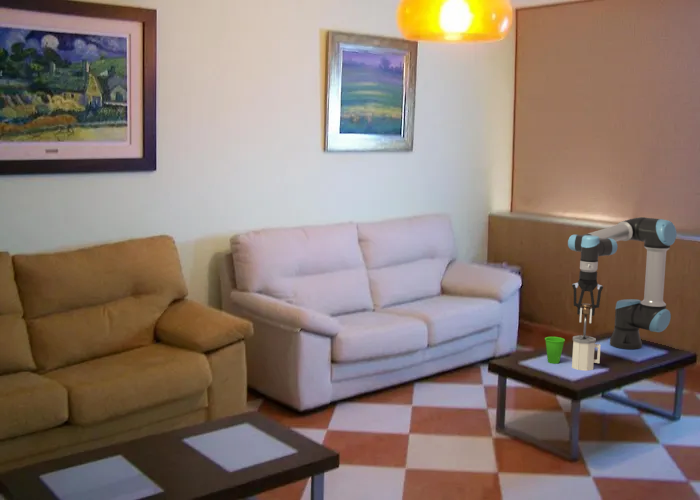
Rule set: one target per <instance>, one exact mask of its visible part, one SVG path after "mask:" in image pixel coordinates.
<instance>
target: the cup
mask: <svg viewBox="0 0 700 500" xmlns="http://www.w3.org/2000/svg"><path fill="white" fill-rule="evenodd" d="M544 341H545V348H546V357H547V359H546V360H547V363H549V364H550V365H551V364H552V365H556V364H557V365H558V364H559V363H560V360H561V358H562V357H561V356H562V354H563V353H562V352H563V349H564V344H565V342H566V340H565V338H563V337H558V336H547V337H544Z"/></svg>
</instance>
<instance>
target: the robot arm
mask: <svg viewBox="0 0 700 500" xmlns="http://www.w3.org/2000/svg"><path fill="white" fill-rule="evenodd" d="M676 239H677V228H676V226H675V225H674V223H673V222H672V221H670V220H668V219H663V218H654V217H653V218H652V217H644V216H643V217H642V216H641V217H640V216H639V217H634V218H630V219H629V218H628V219H627V220H623V221H622V220H621V221H619V222H618V223H617V224H615V225H612V226H609V227H606V228H602V229H599V230H595V231H591V232H588V233H585V234H572V235H570V236H569V238H568V240H567V247H568V248H569V250H571V251H573V252H574V251H575V252H577V253H578V252H580V261H579V269H580V270H579V278H578V281H577V282H575V283H572V285H571V286H572V290H573V307H576V308H577V309H576V310H577V312H576V313H577V315H579V323H582V316H583V314H582V306H581V304H583V299H584V295H585V292H589V293H590V294H589V295H590V301H591V303H590V304H591V305H592V307H590V315H589V319H588V320H589V324H592V319H593V318H592V317H594V316H595V312H596V311H595V310H596V309H597V308H598V309H599V308H600V304H601V303H600V302H601V296H602V292H603V289H604V285H602V284H599V282H598V281H597V280H598V267H599V266H598V265H599V257H605V256H607V257H608V256H611V255H614V254H616V253H617V252H618V251H617V250H618V247H619V246H618V243H617V242H620V241H622V242H627V241H638V242H643V243H644V244H643V247H644V249H646V260H645V261H646V262H645V263H646V264H645V266H646V267H645V279H644V293H643V294H644V296H643V300H640V299H631V298H629V299H627V298H626V299H620V300H617V301H616V303H615V312H614V313H615V315H614V327H613V332H612V334H611V337H610V339H609V345H610V346H612V347H614V348H618V349H624V350H638V349H641V348H642V347H643V345H642V344H643V341H642V340H641V336H640V335H641V334H640V329H642V330H646V331H650V332H652V333H653V332H655V333H661V332H663V331H665V330H666V329H667V327H668V326H669V325H670V323H671V316H672V315H671V311H670V310H669V309H667V303H665V301H664V293H665V292H664V291H665V277H666V275H665V274H666V262H667V261H666V260H667V251H669V250H670V249H671V246H672V245H673V244H674V243H675V241H676ZM578 287H579V288H580V289H581V290H580V296H579V299H578V301H577V289H578ZM596 288H597V297H596V302H595V298H594V290H595V289H596ZM595 303H596V304H595Z"/></svg>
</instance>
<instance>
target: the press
mask: <svg viewBox="0 0 700 500" xmlns="http://www.w3.org/2000/svg"><path fill="white" fill-rule="evenodd" d="M572 341H573V343H572V357H571V369H574V370H577V371H586V372H587V371H592V370H594V363H595V364H600V358H601V344H600V343H596V342H597V340H596V337H593V336H589V335H586V337H585V339H583V335H582V334H581V335H573V336H572ZM595 348H596V349H597V356H596V358H595Z"/></svg>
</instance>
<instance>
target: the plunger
mask: <svg viewBox="0 0 700 500" xmlns="http://www.w3.org/2000/svg"><path fill="white" fill-rule="evenodd" d="M581 307H582V316H583V315H584V316H583V318H584V319H583V334H582V336H583V339H585V337H586V336H587V323H588V322H587V321H588V320H587V318H588V316H590V308H592V303H585V302H582V303H581Z"/></svg>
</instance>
